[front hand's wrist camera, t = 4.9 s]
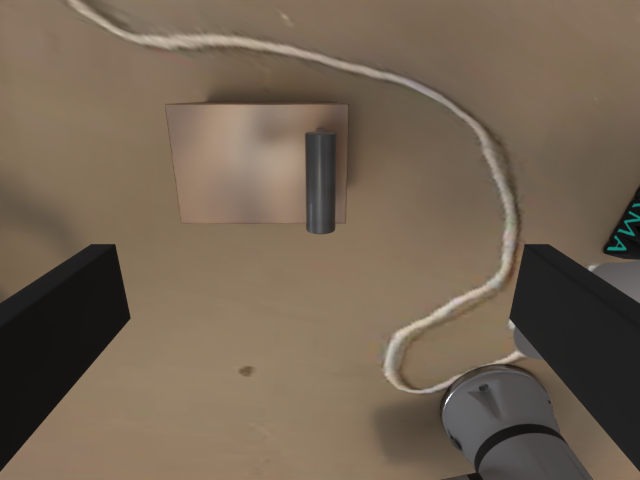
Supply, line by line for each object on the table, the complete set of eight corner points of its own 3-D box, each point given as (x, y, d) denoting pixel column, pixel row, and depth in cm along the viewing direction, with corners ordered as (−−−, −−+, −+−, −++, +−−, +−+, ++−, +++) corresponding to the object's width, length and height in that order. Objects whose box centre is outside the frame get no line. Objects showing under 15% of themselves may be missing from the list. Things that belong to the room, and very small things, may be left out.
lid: (347, 103, 32) (357, 106, 23) (345, 219, 35) (352, 256, 27) (170, 103, 31) (119, 106, 23) (185, 219, 35) (146, 256, 27)
